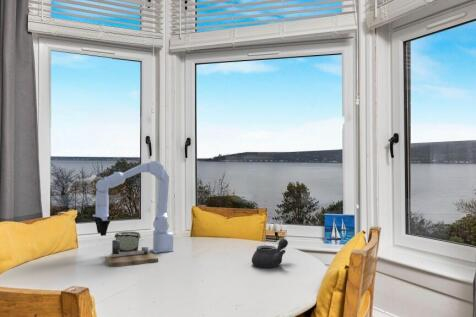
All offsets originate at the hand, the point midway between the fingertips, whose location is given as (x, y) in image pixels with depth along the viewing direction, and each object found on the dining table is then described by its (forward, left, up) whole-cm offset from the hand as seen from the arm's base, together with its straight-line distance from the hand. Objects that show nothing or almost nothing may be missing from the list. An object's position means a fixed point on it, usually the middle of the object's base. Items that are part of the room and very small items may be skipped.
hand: (101, 234), depth 180 cm
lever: (-10, +14, -8) cm, 19 cm away
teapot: (-63, +50, -10) cm, 81 cm away
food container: (-12, +4, -10) cm, 16 cm away
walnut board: (-10, +19, -9) cm, 23 cm away
